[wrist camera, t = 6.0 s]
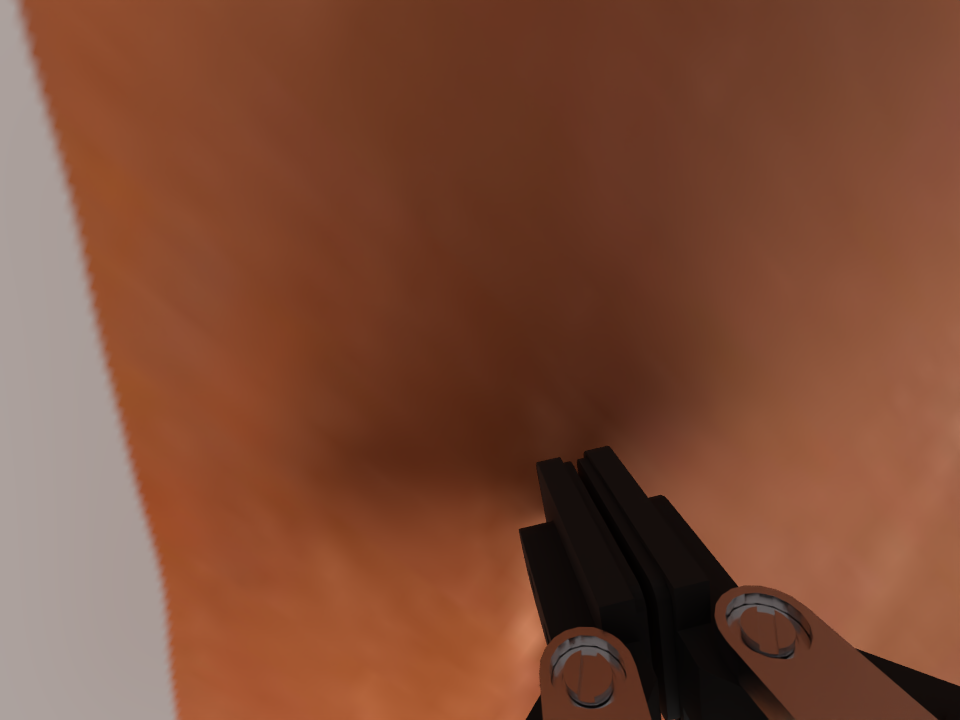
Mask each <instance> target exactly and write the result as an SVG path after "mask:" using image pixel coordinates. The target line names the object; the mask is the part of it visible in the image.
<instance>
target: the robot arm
mask: <svg viewBox="0 0 960 720" xmlns="http://www.w3.org/2000/svg"><path fill="white" fill-rule="evenodd" d="M536 467H537V473H538V479H539V484H540V489H541V495H542V500H543V506H544V511H545V517H546V523H542V524H538V525H534V526H530V527H526V528H521V529H519V534H520V539H521V544H522V549H523V553H524V558H525V563H526V567H527V571H528V575H529V580H530V584H531V588H532V591H533V595H534V599H535V603H536V606H537V610H538V614H539V617H540V621H541V625H542V628H543V632H544V636H545V639H546V643H547V646H546V648H545V650H544V652H543V655H542V657H541V660H540V670H539V678H540V690H541V695H540V696H539V698H538V700H537V701H536V703H535V705H534V707H533V708H532V710H531V712H530V713H529V715H528V717H527V718H526V720H661V713H662V715H663V717H664V719H665V720H673V719H675V720H960V686H957V685H955V684H952V683H949V682H946V681H944V680H941V679H938V678H935V677H933V676H930V675H927V674H924V673H922V672H919V671H916V670H913V669H911V668H908V667H905V666H902V665H900V664H897V663H894V662H891V661H889V660H886V659H883V658H880V657H878V656H875V655H872V654H869V653H867V652H864V651H861V650H858V649H856V648H854V647H853V646H852V645H850V644H849V643H848V642H847V641H846V640H845V639H843V638H842V637H841V636H840V635H839V634H838V633H837V632H835V631H834V630H833V629H832V628H831V627H830V626H828V625H827V624H826V623H825V622H824V621H823V620H821V619H820V618H819V617H818V616H817V615H816V614H814V613H813V612H812V611H811V610H810V609H809V608H807V607H806V606H805V605H803V604H802V603H801V602H799V601H798V600H796V599H795V598H793V597H792V596H790V595H787V594H785V593H783V592H781V591H778V590H776V589H772V588H767V587H763V586H741V587H738V586H737V584H736V583H735V582H734V581H733V579H732V578H731V577H730V576H729V575H728V573H727V572H726V571H725V570H724V568H723V567H722V566H721V565H720V563H719V562H718V561H717V560H716V558H715V557H714V556H713V555H712V554H711V552H710V551H709V550H708V549H707V547H706V546H705V545H704V544H703V542H702V541H701V540H700V539H699V537H698V536H697V535H696V534H695V532H694V531H693V530H692V529H691V528H690V526H689V525H688V524H687V523H686V521H685V520H684V519H683V518H682V516H681V515H680V514H679V513H678V511H677V510H676V509H675V508H674V507H673V505H672V504H671V503H670V502H669V500H668V499H667V498H666V497H665V496H662V495H658V496H654V497H650V498H648V497H647V496H646V494H645V493H644V492H643V490H642V489H641V488H640V486H639V485H638V484H637V482H636V481H635V480H634V478H633V477H632V476H631V474H630V473H629V472H628V470H627V469H626V468H625V466H624V465H623V464H622V462H621V461H620V460H619V458H618V457H617V456H616V454H615V453H614V452H613V450H612V449H611V448H610V447H609V446H604V447H600V448H596V449H592V450H588V451H585V452H584V458H582V459H578V460H577V468H578V473H577V471H576V469H575V468H574V466H573V464H572V462H571V461H569V462H565V463H563V461H562V460H561V458H560V457H558V458H554V459H549V460H545V461H541V462H537V463H536Z"/></svg>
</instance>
